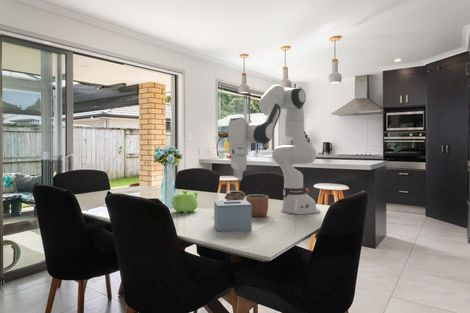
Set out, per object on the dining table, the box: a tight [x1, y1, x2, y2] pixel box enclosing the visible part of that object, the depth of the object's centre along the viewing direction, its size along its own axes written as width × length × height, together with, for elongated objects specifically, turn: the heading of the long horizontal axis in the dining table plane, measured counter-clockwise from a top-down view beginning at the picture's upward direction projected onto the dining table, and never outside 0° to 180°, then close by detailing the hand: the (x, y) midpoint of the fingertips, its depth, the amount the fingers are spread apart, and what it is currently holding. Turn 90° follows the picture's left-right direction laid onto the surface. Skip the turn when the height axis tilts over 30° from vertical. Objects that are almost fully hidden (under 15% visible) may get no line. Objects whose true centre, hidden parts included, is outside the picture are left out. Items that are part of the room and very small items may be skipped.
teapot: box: [171, 190, 199, 215], centre depth 188 cm, size 20×13×13 cm
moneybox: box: [213, 199, 253, 233], centre depth 152 cm, size 16×12×12 cm
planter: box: [245, 194, 269, 218], centre depth 177 cm, size 12×12×11 cm
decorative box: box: [224, 190, 246, 201], centre depth 203 cm, size 13×20×10 cm, turn 155°
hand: (238, 178), depth 155 cm, fingers open, 8 cm apart
